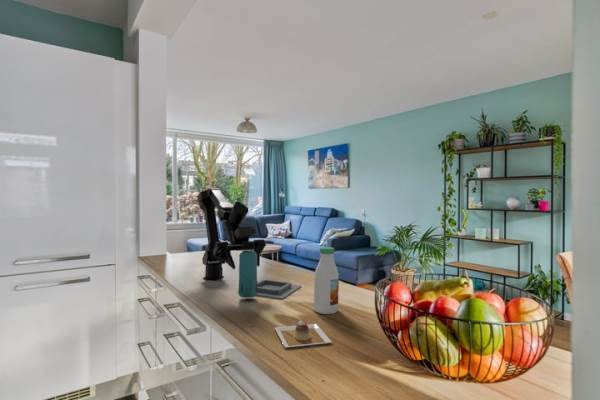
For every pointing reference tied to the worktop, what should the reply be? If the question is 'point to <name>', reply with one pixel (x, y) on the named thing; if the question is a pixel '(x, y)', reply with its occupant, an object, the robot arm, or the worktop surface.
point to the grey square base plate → (275, 289)
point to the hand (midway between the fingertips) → (246, 267)
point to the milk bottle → (326, 283)
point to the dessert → (302, 333)
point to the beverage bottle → (247, 271)
